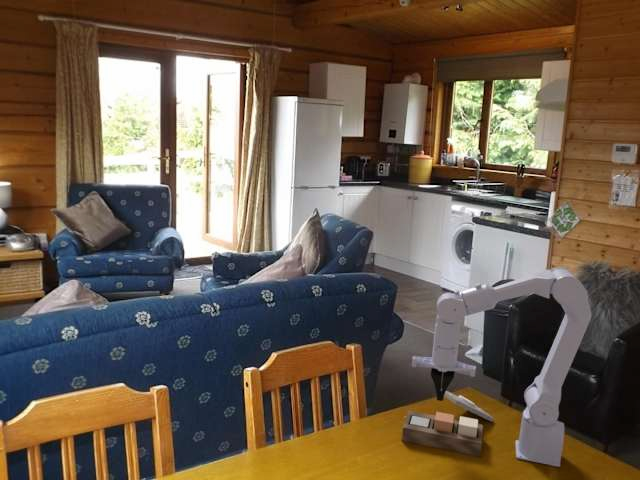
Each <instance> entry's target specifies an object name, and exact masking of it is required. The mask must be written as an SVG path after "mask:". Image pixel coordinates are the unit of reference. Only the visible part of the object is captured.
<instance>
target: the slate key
mask: <svg viewBox="0 0 640 480" xmlns="http://www.w3.org/2000/svg"><path fill="white" fill-rule="evenodd" d="M429 420H430V419H427V418H422V417H417V416H412V419H411V422H410V425H414V426H419V427H424V428H429Z"/></svg>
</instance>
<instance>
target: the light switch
mask: <svg viewBox="0 0 640 480" xmlns="http://www.w3.org/2000/svg"><path fill="white" fill-rule="evenodd" d="M441 390H442V387H441ZM444 398H446V399H447V400H449V401H450V402H452V403H453V404H454V405H456V406H459V407H461V408H462V409H465V410H467V411H469V412H471V413H473V414H475V415H476V416H478V417H481V418H483V419H485V420H487V421H489V422H492V423H493V421H494V419H495V418H494V417H493V416H491V415H490V414H489V413H488V412H486V411H485V410H483V409H482V408H480V407H478V406H477V405H476V403H474V402H473V401H472V400H469V399H468V398H466V397H464V396H463V395H461V394H459V395H458V396H457V395H456V394H455V393H452V392H450V391H448V390H446V392H445V394H444Z"/></svg>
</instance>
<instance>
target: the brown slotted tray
mask: <svg viewBox="0 0 640 480" xmlns="http://www.w3.org/2000/svg"><path fill="white" fill-rule="evenodd" d="M412 416H417V417H422V418H427V419H430V420H429V428H424V427H419V426H414V425H410V422H411V419H412ZM435 416H436V415H434V414H428V413H422V412H418V411H412V410H408V411H407V414H406V417H405V420H404V422H403V425H402V436H401V442H404V443H405V442H406V443H409V444H415V445H419V446H424V447H428V448H429V447H430V448H435V449H439V450H443V451H448V452H449V451H450V452H453V453H458V454H462V455H463V454H464V455H467V456H473V457H477V458H480V457H481V453H482V444H483V424H480V423H478V427H477V435H476V438H475V437H470V436H465V435H460V434H458V428H459V420H460V419H459V420H458V419H455V418H454V420H453V428H452V433H449V432H444V431H439V430H434V421H435Z"/></svg>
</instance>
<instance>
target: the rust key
mask: <svg viewBox="0 0 640 480" xmlns="http://www.w3.org/2000/svg"><path fill="white" fill-rule="evenodd" d="M434 416H435V421H434V430H439V431H444V432H449V433H452V428H453V420H454V419H455V418H454V417H455V415H454V414H450V413H445V412H440V411H436V412H435V415H434Z"/></svg>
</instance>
